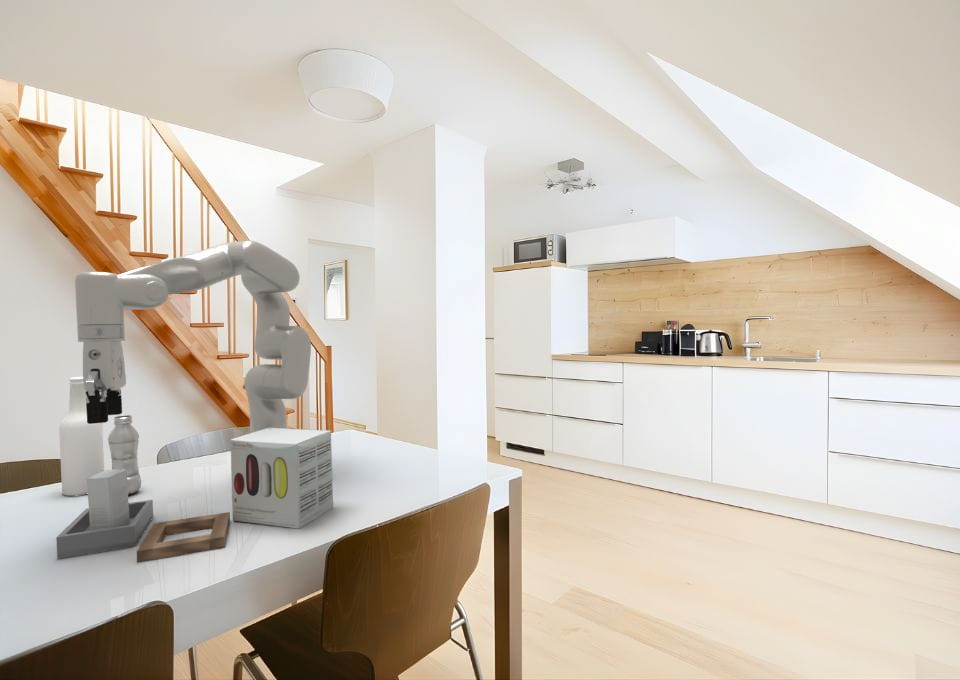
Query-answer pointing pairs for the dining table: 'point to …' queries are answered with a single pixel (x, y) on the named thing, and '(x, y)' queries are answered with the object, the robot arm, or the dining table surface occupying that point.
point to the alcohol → (79, 443)
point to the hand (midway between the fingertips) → (105, 418)
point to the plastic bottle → (125, 450)
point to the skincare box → (108, 499)
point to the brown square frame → (158, 549)
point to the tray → (104, 533)
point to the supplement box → (281, 476)
